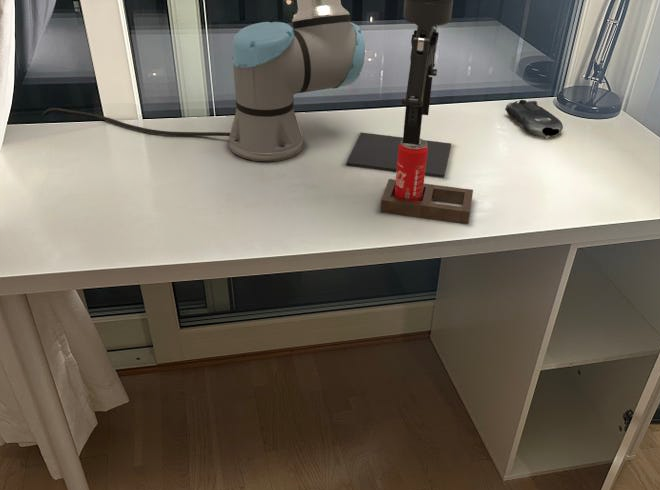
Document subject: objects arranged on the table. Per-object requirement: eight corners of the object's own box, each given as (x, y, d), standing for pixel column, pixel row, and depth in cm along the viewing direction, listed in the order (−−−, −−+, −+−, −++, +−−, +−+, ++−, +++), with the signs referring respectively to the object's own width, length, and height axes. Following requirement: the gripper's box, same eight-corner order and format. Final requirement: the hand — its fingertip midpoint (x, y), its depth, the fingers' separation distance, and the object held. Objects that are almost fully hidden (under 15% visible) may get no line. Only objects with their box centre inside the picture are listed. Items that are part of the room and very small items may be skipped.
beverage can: (419, 212, 129) (426, 150, 122) (391, 208, 130) (397, 146, 122) (422, 199, 133) (430, 138, 126) (395, 196, 134) (401, 135, 126)
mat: (346, 165, 143) (346, 162, 143) (360, 134, 155) (360, 132, 155) (443, 177, 141) (444, 175, 140) (450, 146, 153) (451, 143, 152)
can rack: (380, 212, 129) (381, 199, 127) (387, 190, 136) (388, 178, 134) (468, 224, 127) (470, 211, 125) (471, 201, 134) (473, 189, 132)
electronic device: (499, 122, 168) (533, 138, 156) (505, 97, 165) (540, 112, 153) (532, 123, 171) (568, 140, 160) (538, 100, 169) (575, 114, 157)
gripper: (446, 16, 99) (429, 159, 112) (460, -22, 117) (444, 105, 131) (393, 11, 99) (383, 154, 113) (415, -26, 118) (404, 100, 132)
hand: (416, 128), depth 122 cm, fingers open, 13 cm apart
